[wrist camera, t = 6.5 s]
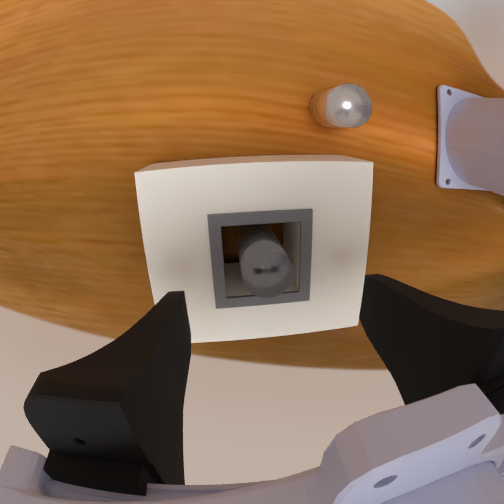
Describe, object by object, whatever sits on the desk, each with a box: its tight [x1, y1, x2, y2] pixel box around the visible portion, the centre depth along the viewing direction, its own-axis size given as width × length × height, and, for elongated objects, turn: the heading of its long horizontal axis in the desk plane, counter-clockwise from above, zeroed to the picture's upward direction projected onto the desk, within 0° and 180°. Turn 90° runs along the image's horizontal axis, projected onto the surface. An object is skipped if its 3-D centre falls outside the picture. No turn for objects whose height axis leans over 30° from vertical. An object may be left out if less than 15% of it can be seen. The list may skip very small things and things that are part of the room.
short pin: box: [309, 83, 372, 127], centre depth 16 cm, size 2×2×4 cm
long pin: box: [235, 223, 294, 298], centre depth 17 cm, size 2×2×6 cm
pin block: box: [135, 155, 373, 343], centre depth 18 cm, size 12×10×5 cm
